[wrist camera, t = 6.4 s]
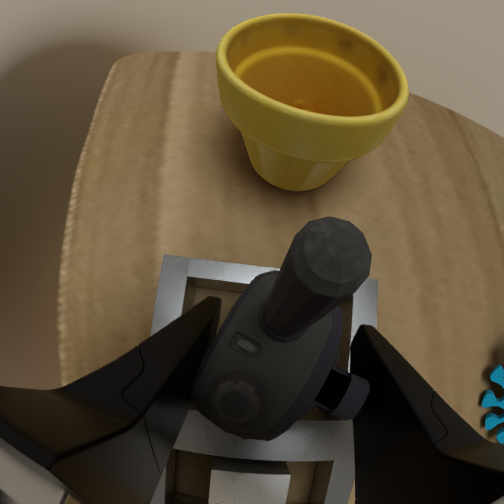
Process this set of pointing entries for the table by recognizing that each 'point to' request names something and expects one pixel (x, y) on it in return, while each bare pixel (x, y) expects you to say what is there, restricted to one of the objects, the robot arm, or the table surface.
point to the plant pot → (307, 95)
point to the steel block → (248, 481)
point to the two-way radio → (287, 339)
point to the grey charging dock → (303, 430)
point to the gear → (495, 403)
